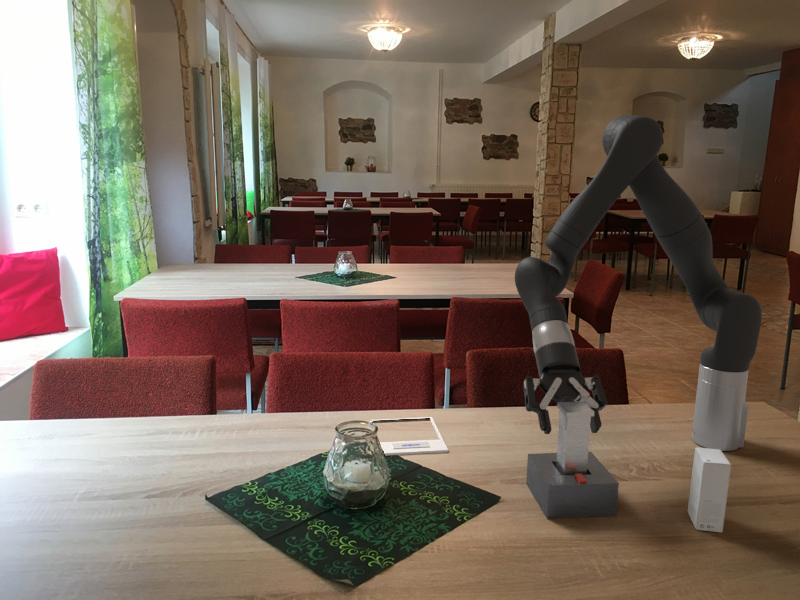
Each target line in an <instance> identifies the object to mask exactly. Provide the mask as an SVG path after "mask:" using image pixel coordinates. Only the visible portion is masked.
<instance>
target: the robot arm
mask: <svg viewBox="0 0 800 600" xmlns="http://www.w3.org/2000/svg"><path fill="white" fill-rule="evenodd" d="M663 141H664V134H663V130H662V127H661V125H660V123H658V122H657V121H656V120H655V119H653V118H651V117H648V116H646V115H635V114H634V115H632V114H627V115H626V114H625V115H621V116H617V117H615V118H613V119H612V120H610V121H609V122H608V123H607V125H606V126H605V128H604V130H603V132H602V141H601V144H602V148H603V151H604V153H605V155H606V158H605V161H604V163H603V164H602V166H601V168H599V171H598V172H597V174H595V176H594V177H593V179H592V180H591V181H590V182H589V183H588V184H587V185H586V187H584V189H582V190H581V192H580V193H579V194H577V196H576V197H575V198H574V199H573V200H572V201H571V202H570V203H569V204H568V206H567V207H566V208H565V209H564V210H563V211H562V213H561V214H560V216H559V218H558V219H557V221H556V222H555V224H554V225H553V227H552V228H551V229H550V231H549V232H548V234H547V236H546V238H545V241H544V244H545V247H546V248H547V249H548V250H549V251H550V252H551V254H550V258H549V261H548V262H546V261H545V260H542V258H541V259H540V258H538V257H535V256H528V257H525V258H523V259H522V260H521V261H519V263H518V265H517V266H516V268H515V271H514V283H515V288H516V290H517V294H518V295H519V297H520V300H521V302H522V304H523V305H524V308H525V310H526V311H527V314H528V316H529V323H530V328H531V333H532V345H533V352H534V358H535V361H536V367H537V370H538V375H539V377H538V378H533V376H532V375H527V376H526V377H525V379H524V381H523V382H522V384H523V385H522V386H523V393H524V394H523V395H524V402H525V410H526V411H527V412H529V413H531V412H534V413H536V414H537V418H538V424H539V428H540V430H541V432H544V433H543V434H544V435H549V434H551V432H552V424H551V423H552V422H551V419H550V414H549V410H548V409H547V407H548V406H549V404H550V402H551V400H552V401H554V402H555V403H557V402H585V403H586V404H587V405H588V406H589V407H590V408H591V409H592V410H593V411H594V416H591V421H590V432H591V433H592V434H597V433H598V432H599V431H600V429H601V428H602V421H601V416H600V413H599V412H600V411H603V410H604V408H605V407H606V406H607V405H608V398H607V395H606V393H605V389H604V387H603V384H602V381H601V378H600V375H598V374H594V375H593V376H592V377H584V376H583V374H582V371H581V367H580V366H581V365H580V363H579V362H580V361H579V357H578V353H577V348H576V345H575V339H574V336H573V333H572V331H571V329H570V324H569V321H568V317H567V312H566V308H565V306H564V304H563V301H561V300H560V299H559V298H558V296H560V295H561V293H562V292H563V291H564V290H565V288H566V286H567V284H568V282H569V279H570V277H571V273H572V271H573V268H574V265H575V263H576V259H577V257H578V254H579V253H580V252H581V251H582V249H583V247H584V246H585V244H587V242H588V240H589V238H590V237H591V235H592V234H593V233H594V231H595V229H596V228H597V227H598V225H599V224H600V222H601V221H602V219H604V217H605V215H606V214H607V213H608V211H609V210H610V209H611V208H612V206H613V205H614V204H615V202H616V201H617V200H618V199H619V197H621V195H622V194H623V193H624V192H625V190H626V189H627V188H628V187H629V188H630V189H631V191H632V194H633V195H634V197H635V199H636V201H637V203H638V205H639V207H640V209H641V211H642V213H643V215H644V216H645V219H646V221H647V223H648V224H649V226H650V228H651V230H652V232H653V234H654V236H655V238H656V239H657V241H658V243H659V244H660V247H661V248H662V250H663V251H664V253H665V254H666V256H667V257H668V259H669V260H670V262H671V264H672V266H673V267H674V270H675V271H676V273H677V275H678V276H679V277H680V279H681V281H682V282H683V284H684V287H685V288H686V290H687V292H688V296H689V298H690V300H691V302H692V304H693V307H694V309H695V312H696V313H697V316H698V318H699V320H700V321H701V323H703V325H704V326H705V327H706V328H708V329H711V330H712V331H714V332H716V333H715V334H716V335H715V339H714V344H713V346H712V347H706V348H704V349H703V350H702V351H701V352H700V360H699V367H698V368H699V369H698V378H697V385H696V386H697V387H696V395H695V403H694V405H695V406H694V413H693V414H694V415H693V420H692V422H693V423H692V430H691V441H693V442H694V444H697V445H698V446H701V447H702V448H709V449H719V450H721V451H722V452H730V451H735V450H738V449H739V448H744V447H745V446H744V445H745V439H746V431H747V423H748V415H749V409H750V407H749V406H750V405H749V403H747V402H746V395H747V387H748V380H749V379H748V378H749V370H750V364H751V361H752V360H753V359H754V357H755V355H756V352H757V347H758V341H759V335H760V331H761V326H762V319H763V318H762V313H763V312H762V308H761V305H760V303H759V301H758V300H757V298H756V297H754V296H753V295H751V294H748V293H744V292H741V291H736V290H735V289H731V288H730V287H729V286H728V285H727V283H726V282H725V280H724V279H723V278H722V276H721V275H720V273H719V271H718V269H717V267H716V266H715V262H714V258H713V257H714V256H713V250H714V249H713V246H714V245H713V237H712V233H711V231H710V228H709V227H708V224H707V222H706V221H705V219H704V216H703V214H702V213H701V212H700V210H699V208H698V207H697V205H696V204H695V202H694V201H693V199H692V198H691V197H690V196H689V195H688V194H687V193H686V191H685V190H684V189H683V188H682V187H681V186H680V185H679V183H677V182H676V181H675V180H674V179H673V178H672V177H671V175H670V174H669V172H667V170H666V169H665V168H664V165H663V164H662V163H661V161H660V158H659V157H658V153H659V152H660V150H661V148H662V146H663ZM584 386H586V387H587V388H588V390H590V391H591V393H592V397H591V395H590V393H589V391H587V389H585V388H584ZM538 387H539V388H540V389H541V390H542V391H543V392H544V393H545V396H544V397H543V398H542V400H541V402H536V400H537V399H536V393H535V391H536V389H537V388H538Z"/></svg>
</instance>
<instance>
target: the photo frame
mask: <svg viewBox="0 0 800 600" xmlns="http://www.w3.org/2000/svg"><path fill="white" fill-rule="evenodd" d="M420 418H430V419H429V420H430V421H431V422H430V423H432V424H431V425H433V426H432V428H433V427H434V428H433V430H434V429H435V430H434V432H435V434H437V435H436V436H438V437H437V438H438V439H422V440H421V439H420V440H419V439H418V440H404V441H402V440H400V441H399V440H398V441H385V442H383V441H382V442H381V441H380V444H381V447H382V449H383V451H384V454H385V456H387V457H388V456H403V455H404V456H405V455H422V454H423V455H424V454H440V453H441V454H442V453H449V449H448V447H447V445H446V442H445V441H444V439H443V437H442V434H441V433H440V429H438V426H437V425H436V422H435V420H434V418H433V417H432V416H420V417H402V418H401V417H400V418H397V417H395V418H380V419H371V420H372V421H370V422H373V423H374V422H378V421H377V420H395V421H400V420H399V419H418V420H421V419H420ZM370 422H369V423H370ZM385 456H384V457H385Z"/></svg>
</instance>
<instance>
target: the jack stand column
mask: <svg viewBox="0 0 800 600" xmlns="http://www.w3.org/2000/svg"><path fill="white" fill-rule="evenodd" d="M556 408H558V410H559V414H558V415H559V417H558V432H557V433H558V434H557V446H556V447H557V450H556V453H557V461H556V469H557V470H558V471H559V473H560V474H561V476H564V475H575V474H580V473H581V474H582V475H586V474H587V461H588V452H589V447H590V445H589V444H590V434H591V433H590V432H591V428H590V421H591V416H594V411H593V410H592V409H591V408H590V407H589V406H588V405H587V404H586V403H585V402H575V401H572V402H566V401H562V402H556Z"/></svg>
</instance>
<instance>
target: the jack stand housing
mask: <svg viewBox="0 0 800 600" xmlns="http://www.w3.org/2000/svg"><path fill="white" fill-rule="evenodd" d="M556 461H557V452H550V453H549V452H547V453H546V452H545V453H544V452H543V453H527V463H526V465H527V467H526V483H525V484H526V486H527V487H528V489H529V490H530V492H531V494H532V496H533V498H534V499H535V502H537V504H538V506H539V508H540V510H541V511H542V512H543V515H544V516H545V519H548V520H549V519H563V518H564V519H568V518H570V519H572V517H573V518H594V517H596V518H597V517H615V516H617V510H618V509H617V507H618V497H619V496H618V495H619V485H620V482H619V481H618V480H617V479H616V477H614V475H612V474H611V473H610V471H609V470H608V468H606V467H605V466H604V465H603V464H602V462H601V461H600V460H599V459H598V458H597V456H595V454H594V453H593V452H592V451H588V461H587V474H586V475H582V474H581V473H580V474H575V475H564V476H561V474H560V473H559V471H558V470H557V469H556Z"/></svg>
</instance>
